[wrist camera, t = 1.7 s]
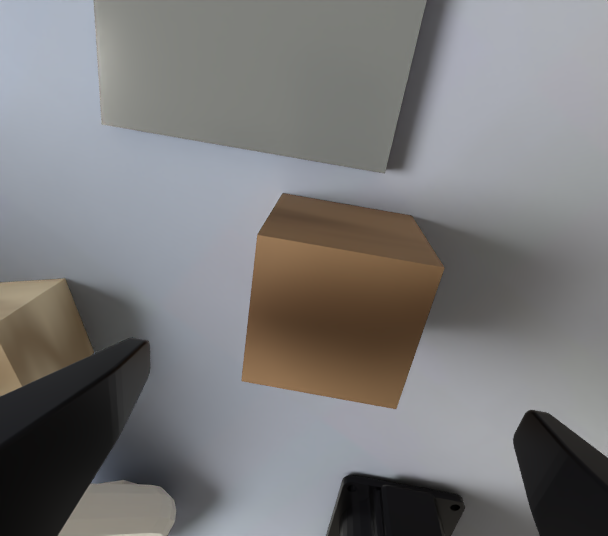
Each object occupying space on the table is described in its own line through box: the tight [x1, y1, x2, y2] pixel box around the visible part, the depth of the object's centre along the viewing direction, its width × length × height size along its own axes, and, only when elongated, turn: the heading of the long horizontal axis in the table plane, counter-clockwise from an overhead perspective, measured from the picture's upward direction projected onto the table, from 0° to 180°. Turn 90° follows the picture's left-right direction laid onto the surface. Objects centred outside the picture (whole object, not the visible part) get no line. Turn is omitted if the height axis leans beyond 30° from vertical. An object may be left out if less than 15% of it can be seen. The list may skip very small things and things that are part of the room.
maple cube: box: [0, 278, 94, 396], centre depth 16 cm, size 4×4×4 cm
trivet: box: [94, 0, 427, 173], centre depth 12 cm, size 8×10×1 cm
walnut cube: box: [242, 193, 445, 409], centre depth 13 cm, size 5×5×5 cm
